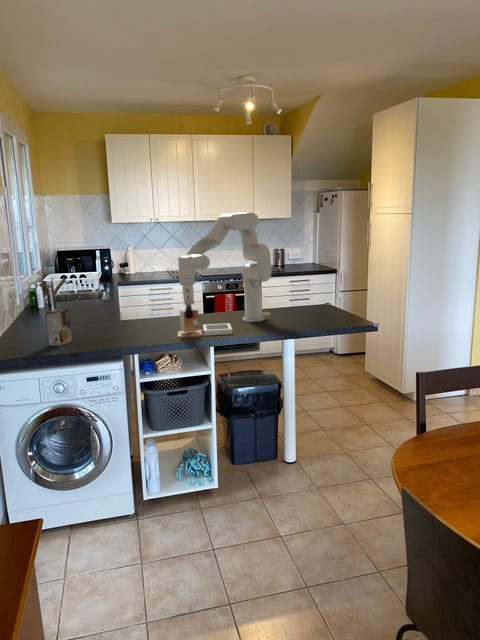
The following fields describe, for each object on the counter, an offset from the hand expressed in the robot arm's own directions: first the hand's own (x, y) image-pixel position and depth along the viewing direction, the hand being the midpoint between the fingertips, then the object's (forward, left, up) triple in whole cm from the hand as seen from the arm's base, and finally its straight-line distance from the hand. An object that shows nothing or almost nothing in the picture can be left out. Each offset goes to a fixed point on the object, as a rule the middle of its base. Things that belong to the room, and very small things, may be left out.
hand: (189, 316), depth 242 cm
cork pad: (0, 0, -9) cm, 9 cm away
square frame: (-14, -2, -9) cm, 17 cm away
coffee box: (+62, +4, -9) cm, 63 cm away
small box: (0, 0, -7) cm, 7 cm away
